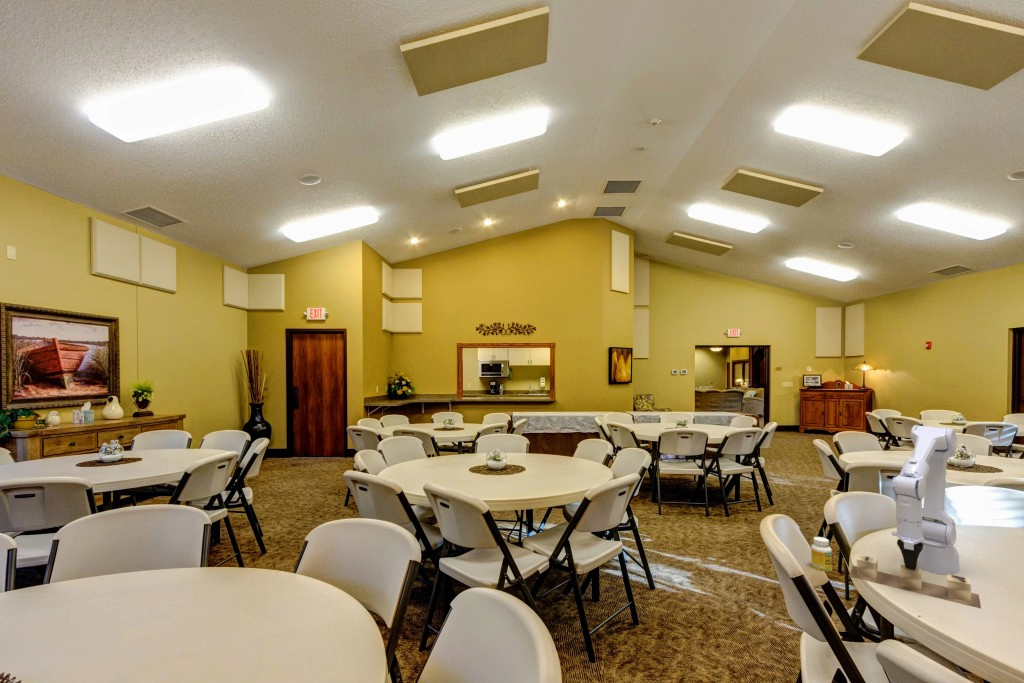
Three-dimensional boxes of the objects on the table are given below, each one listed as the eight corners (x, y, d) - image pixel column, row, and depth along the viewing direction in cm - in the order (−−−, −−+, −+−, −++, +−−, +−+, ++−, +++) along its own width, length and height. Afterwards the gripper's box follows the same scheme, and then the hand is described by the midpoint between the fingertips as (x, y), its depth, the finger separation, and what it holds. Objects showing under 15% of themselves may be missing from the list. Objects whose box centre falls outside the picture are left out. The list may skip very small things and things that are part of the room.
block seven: (948, 596, 130) (947, 578, 130) (947, 590, 133) (947, 573, 133) (971, 602, 127) (970, 583, 127) (970, 596, 130) (969, 577, 131)
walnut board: (848, 579, 142) (848, 576, 142) (853, 568, 150) (853, 565, 150) (981, 612, 124) (981, 608, 124) (978, 598, 131) (978, 594, 131)
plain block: (900, 585, 137) (900, 568, 137) (901, 579, 140) (900, 564, 140) (921, 590, 134) (920, 573, 134) (921, 584, 137) (921, 568, 137)
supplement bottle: (816, 565, 152) (816, 534, 152) (835, 572, 147) (835, 540, 148) (808, 569, 149) (807, 538, 149) (827, 576, 144) (826, 543, 145)
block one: (857, 574, 143) (856, 558, 143) (858, 569, 147) (858, 553, 147) (876, 579, 140) (875, 562, 140) (877, 574, 144) (877, 557, 144)
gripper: (893, 510, 146) (894, 556, 145) (889, 522, 135) (890, 572, 134) (923, 515, 141) (925, 563, 140) (922, 528, 130) (924, 580, 129)
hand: (910, 568), depth 137 cm, fingers closed
